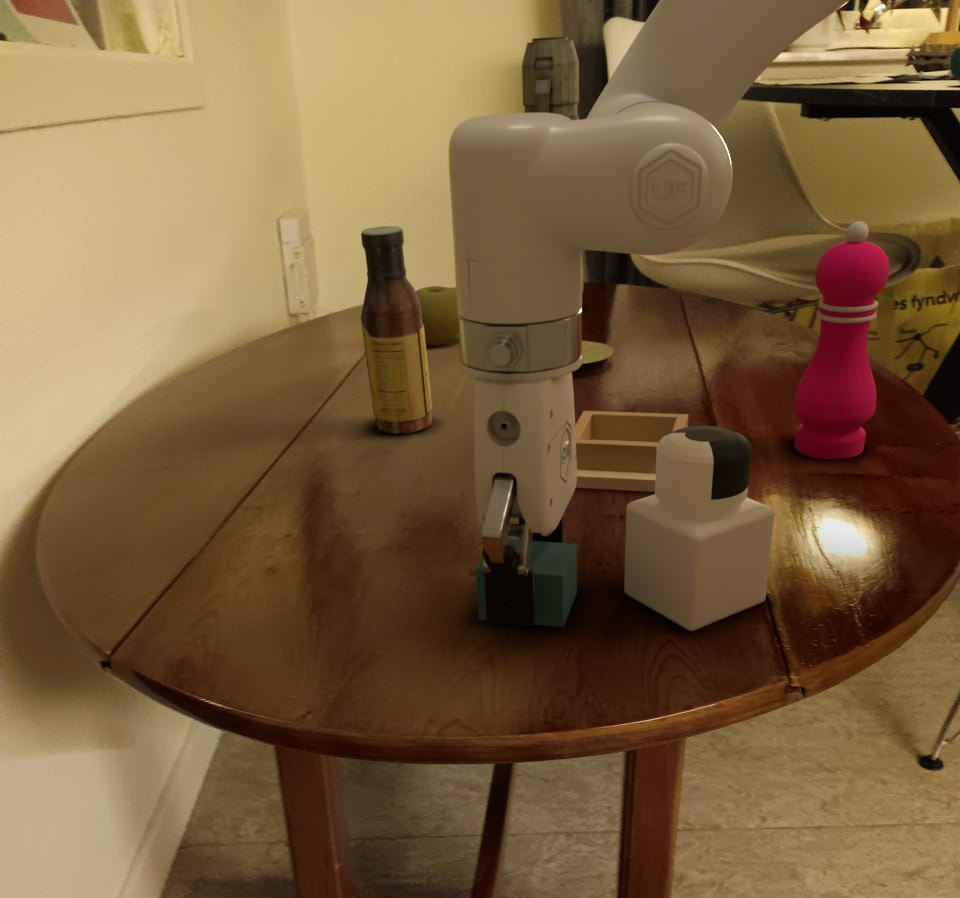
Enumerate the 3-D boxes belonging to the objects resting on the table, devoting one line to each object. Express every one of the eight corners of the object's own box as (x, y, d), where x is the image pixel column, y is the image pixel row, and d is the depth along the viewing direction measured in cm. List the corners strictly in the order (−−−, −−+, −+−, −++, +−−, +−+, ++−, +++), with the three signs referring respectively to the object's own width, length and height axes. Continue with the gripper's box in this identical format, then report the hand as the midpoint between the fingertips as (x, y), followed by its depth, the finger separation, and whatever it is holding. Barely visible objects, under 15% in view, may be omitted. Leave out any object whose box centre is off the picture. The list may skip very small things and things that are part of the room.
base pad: (708, 447, 95) (711, 409, 94) (698, 495, 86) (701, 454, 84) (566, 441, 99) (565, 405, 97) (540, 486, 89) (539, 447, 87)
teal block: (577, 593, 71) (576, 543, 69) (563, 628, 67) (562, 575, 65) (496, 587, 73) (494, 537, 71) (478, 620, 69) (475, 569, 67)
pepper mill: (885, 449, 93) (923, 219, 82) (834, 468, 89) (867, 231, 79) (822, 430, 98) (851, 212, 88) (772, 447, 94) (796, 223, 84)
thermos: (519, 320, 144) (511, 39, 126) (528, 302, 154) (521, 39, 136) (580, 319, 143) (581, 35, 125) (585, 300, 153) (586, 35, 135)
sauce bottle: (400, 414, 109) (381, 221, 99) (445, 422, 106) (430, 224, 96) (361, 432, 105) (337, 232, 94) (407, 441, 101) (387, 235, 91)
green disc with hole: (602, 382, 115) (602, 365, 114) (510, 378, 119) (509, 362, 118) (621, 356, 125) (621, 341, 124) (535, 353, 128) (535, 338, 127)
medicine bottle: (695, 566, 74) (706, 410, 68) (767, 602, 69) (785, 436, 63) (621, 594, 71) (625, 433, 65) (690, 634, 66) (702, 463, 60)
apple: (477, 342, 135) (474, 287, 131) (431, 354, 130) (426, 298, 127) (442, 333, 140) (439, 280, 136) (397, 345, 135) (392, 290, 132)
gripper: (551, 384, 53) (554, 659, 61) (604, 309, 67) (600, 541, 76) (417, 380, 54) (439, 647, 63) (496, 308, 69) (505, 534, 77)
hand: (527, 589), depth 69 cm, fingers open, 9 cm apart
